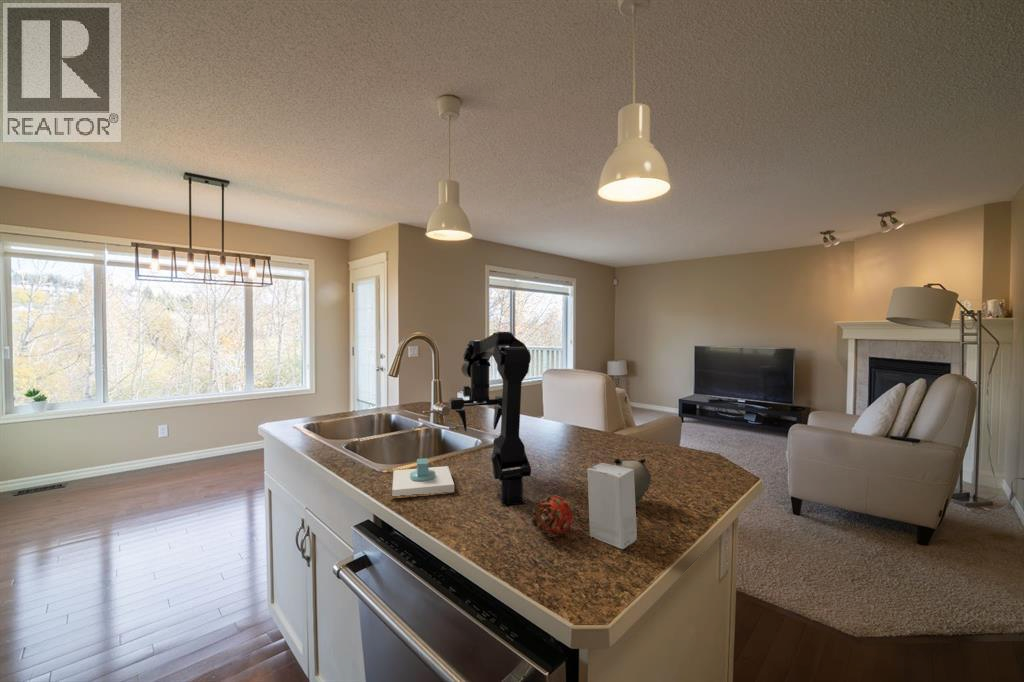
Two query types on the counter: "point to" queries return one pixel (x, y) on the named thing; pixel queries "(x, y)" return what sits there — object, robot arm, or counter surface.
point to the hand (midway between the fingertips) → (480, 430)
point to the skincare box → (612, 504)
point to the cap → (422, 471)
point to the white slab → (422, 482)
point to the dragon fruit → (552, 516)
